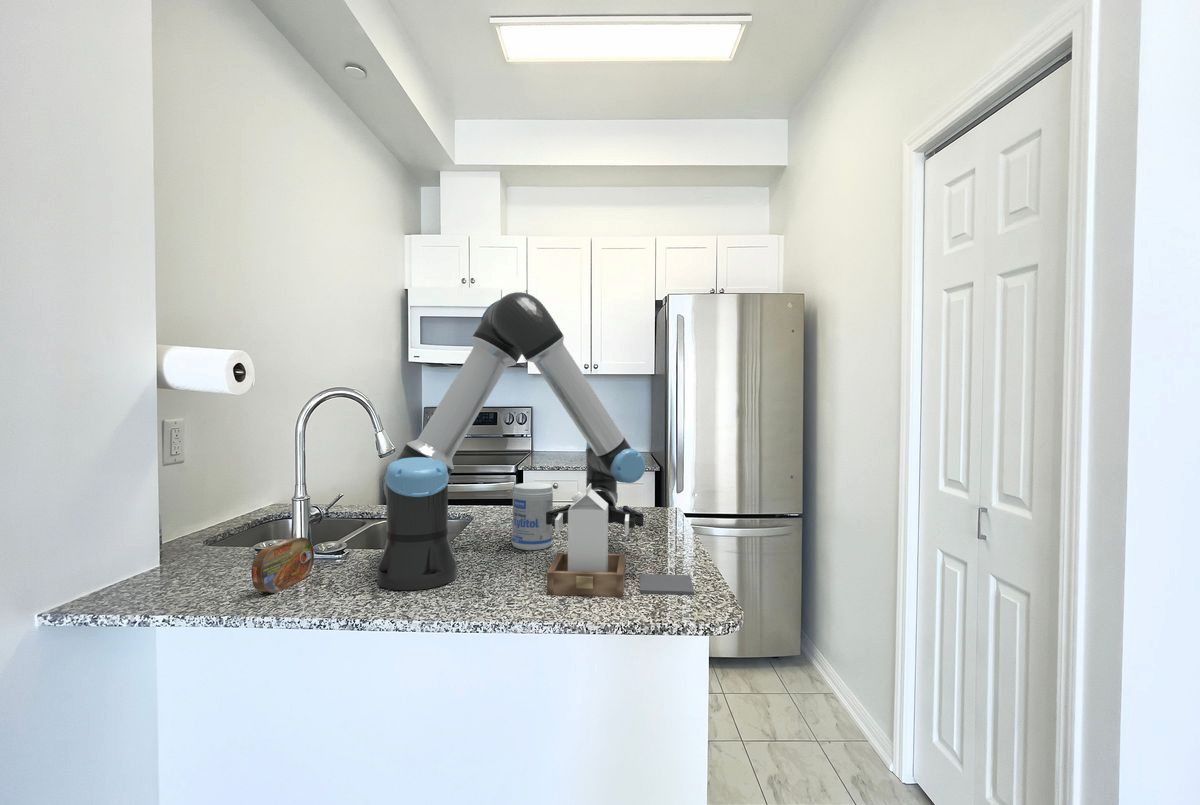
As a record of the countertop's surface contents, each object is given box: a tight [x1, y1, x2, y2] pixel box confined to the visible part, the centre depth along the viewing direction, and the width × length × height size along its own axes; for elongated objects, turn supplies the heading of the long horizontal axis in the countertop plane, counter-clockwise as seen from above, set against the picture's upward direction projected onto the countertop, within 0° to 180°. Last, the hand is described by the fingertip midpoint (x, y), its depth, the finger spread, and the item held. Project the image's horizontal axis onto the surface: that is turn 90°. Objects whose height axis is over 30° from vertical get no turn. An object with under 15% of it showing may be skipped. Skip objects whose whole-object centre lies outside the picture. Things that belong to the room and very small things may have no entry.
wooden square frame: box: [546, 552, 627, 598], centre depth 117 cm, size 14×15×4 cm
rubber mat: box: [639, 573, 695, 596], centre depth 117 cm, size 10×10×1 cm
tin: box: [251, 536, 315, 594], centre depth 116 cm, size 15×3×8 cm, turn 171°
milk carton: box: [567, 483, 609, 572], centre depth 118 cm, size 7×7×19 cm
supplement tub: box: [511, 482, 554, 551], centre depth 146 cm, size 10×10×15 cm
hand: (591, 527), depth 118 cm, fingers open, 13 cm apart
